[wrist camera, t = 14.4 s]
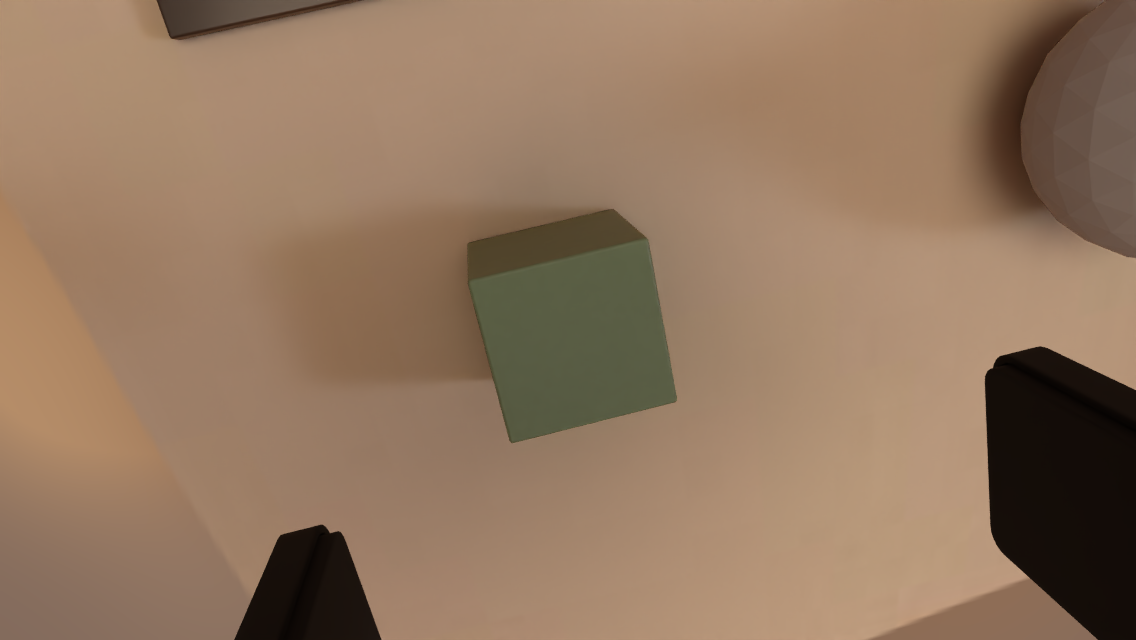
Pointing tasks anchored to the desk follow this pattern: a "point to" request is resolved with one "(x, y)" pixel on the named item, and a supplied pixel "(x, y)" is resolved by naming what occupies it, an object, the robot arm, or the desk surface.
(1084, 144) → the perfume bottle
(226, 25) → the word board
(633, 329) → the sage green block
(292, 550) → the robot arm
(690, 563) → the desk surface
